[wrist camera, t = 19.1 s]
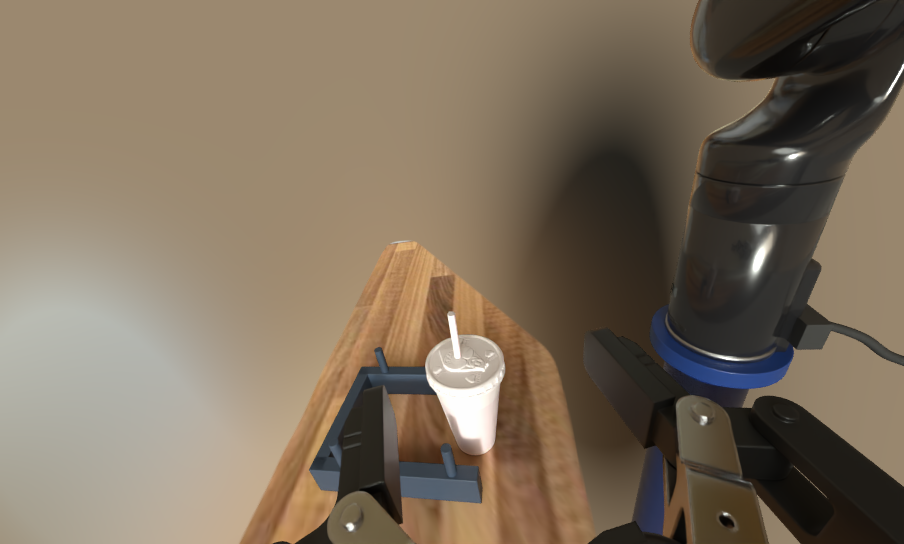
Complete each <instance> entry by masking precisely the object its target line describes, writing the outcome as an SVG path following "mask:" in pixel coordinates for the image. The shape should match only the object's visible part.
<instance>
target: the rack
mask: <svg viewBox="0 0 904 544" xmlns="http://www.w3.org/2000/svg"><path fill="white" fill-rule="evenodd" d="M375 354H376V357H377V360H378V363H379V366H380V367H361V369H360V371H359V373H358V375H357V377H356V379H355V381H354V383H353V385H352V387H351V389H350V391H349V393H348V395H347V397H346V399H345V401H344V403H343V404H342V406H341V408H340V410H339V412H338V414H337V416H336V418H335V420H334V422H333V424H332V426H331V428H330V430H329V432H328V434H327V436H326V438H325V440H324V442H323V444H322V446H321V448H320V450H319V452H318V453H317V455H316V457H315V459H314V461H313V463H312V465H311V467H310V469H309V471H310V472H311V474H312V476H313V477H314V479H315V481H316V482H317V484H318V486H319V487H320V489H321V490H328V491H338V486H339V476H340V466H341V455H342V451H343V449H342V445H343V439H344V437H343V434H344V424H345V421H346V419H347V417H348V415H349V413H350V411H351V409H352V408H356V407H359V406H362V404H363V391H364V390H366V389H370V388H373V387H377V386H381V385H384V386H385V388H386V391H387V394H431V395H437V393H436V392H435V391H434V390H433V389H432V387H431V386H430V385H429V383H428V380H427V375H426V369H425V367H388V366H387V363H386V359H385V356H384V353H383V350H382V348H381V347H378V348H376V349H375ZM441 454H442V457H443V461H444V464H434V463H418V462H402V461H399V470H400V486H401V497H412V498H424V499H436V500H448V501H460V502H472V503H481V501H482V483H481V478H480V472H479V467H478V466H467V465H456V464H455V460H454V456H453V452H452V448H451V445H450V444H448V443H445V444H443V445H442V446H441Z"/></svg>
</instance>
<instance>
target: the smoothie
mask: <svg viewBox="0 0 904 544" xmlns="http://www.w3.org/2000/svg"><path fill="white" fill-rule="evenodd" d="M447 315H448V321H449V327H450V333H451V337H450V338H448V339H446V340H444V341H442V342H440V343H439V344H437V345H436V346H435V347H434V348H433V349H432V350H431V351H430V353H429V354H428V356H427V359H426V363H425V369H426V375H427V380H428V383H429V385H430V386H431V387H432V389H433V390H434V391H435V392H436V393H437V396H438V398H439V400H440V403H441V405H442V408H443V410H444V413H445V415H446V418H447V420H448V423H449V425H450V427H451V430H452V432H453V435H454V437H455V440H456V442H457V445H458V447H459V448H460V449H461V450H462V451H463V452H465V453H467V454H469V455H481V454H484V453H486V452H487V451H489V450H490V449H491V448H492V446H493V445H494V442H495V436H496V425H497V413H498V402H499V390H500V382H501V381H502V379H503V376H504V374H505V363H504V357H503V353H502V351H501V349H500V348H499V346H498V345H497V344H496V343H495V342H493V341H492V340H490V339H488V338H486V337H483V336H479V335H471V334H466V335H458V331H457V324H456V318H455V313H454V312H449V313H448V314H447Z"/></svg>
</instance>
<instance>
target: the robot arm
mask: <svg viewBox="0 0 904 544" xmlns="http://www.w3.org/2000/svg"><path fill="white" fill-rule="evenodd" d="M690 46H691V51H692V54H693V57H694V59H695V61H696V62H697V64H698V65H699V67H700V68H701V69H702V70H703V71H705V72H706V73H707V74H708V75H710V76H713V77H715V78H717V79H721V80H728V81H734V82H745V81H758V80H764V79H770V78H775V80H774V83H773V85H772V87H771V89H770V91H769V93H768V94H767V96H766V97H765V98H764V99H763V100H762V101H761V102H760V103H759V104H758V105H757V106H755V107H754V108H753V109H752V110H750V111H749V112H748V113H746V114H745V115H743V116H742V117H740V118H739V119H737V120H736V121H733V122H731V123H730V124H728V125H726V126H724V127H722V128H720V129H718V130H716V131H714V132H712V133H711V134H710V135H708V136H707V137H706V138H705V139H704V141H703V142H702V144H701V147H700V150H699V154H698V160H697V165H696V171H695V176H694V181H693V186H692V191H691V197H690V202H689V207H688V212H687V217H686V222H685V227H684V232H683V238H682V243H681V248H680V253H679V258H678V263H677V269H676V274H675V278H674V283H673V289H672V288H671V289H672V293H671V299H670V303H669V306H668V312H667V314H666V319H665V327H666V330H667V332H668V334H669V335H670V336H671V337H672V338H673V339H674V340H675V341H676V342H677V343H678V344H680V345H681V346H683V347H684V348H686V349H688V350H690V351H691V352H694V353H696V354H698V355H701V356H703V357H706V358H709V359H713V360H717V361H721V362H727V363H736V364H748V363H756V362H760V361H763V360H766V359H768V358H769V357H771V356H772V355H773V354H774V352H786V350H787V348H788V346H789V343H790V344H791V345H792V346H793V347H794V348H796V349H798V350H802V349H822V348H823V345H824V344H825V341H826V340H827V338H828V336H829V333H830V331H834V332H837V333H840V334H844V335H846V336H849V337H851V338H854V339H856V340H858V341H860V342H862V343H864V344H865V345H866V346H867V347H869V348H870V349H871V350H872V351H874V352H875V353H876V354H877V355H879V356H881V357H882V358H884V359H886V360H889V361H891V362H894V363H897V364H900V365H902V366H904V356H902V355H899V354H896V353H894V352H892V351H890V350H888V349H887V348H885V347H884V346H883V345H882V344H880V343H879V342H878V341H877V340H875V339H874V338H872V337H871V336H869V335H867V334H865V333H863V332H861V331H858V330H856V329H853V328H850V327H847V326H844V325H840V324H836V323H833V322H830V321H828V320H827V319H826V318H825V317H823V316H822V315H821V314H819V313H818V312H817V311H816V310H814V309H813V308H811V307H810V306H809V305H808V304H807V302H808V299H809V297H810V295H811V292H812V290H813V288H814V285H815V283H816V281H817V278H818V276H819V274H820V272H821V265H820V264H819V263H818V262H817V261H815V260H814V259H812V256H813V254H814V251H815V249H816V246H817V243H818V241H819V239H820V236H821V234H822V231H823V229H824V227H825V224H826V222H827V219H828V216H829V214H830V211H831V209H832V206H833V204H834V201H835V198H836V196H837V194H838V192H839V189H840V187H841V184H842V182H843V179H844V177H845V173H846V172H847V170H848V168H849V165H850V163H851V161H852V158H853V157H854V155H855V153H856V152H857V151H858V149H860V147H861V146H862V145H863V144H864V143H865V142H867V140H868V139H870V138H871V136H873V134H874V133H875V132H876V131H877V130H878V129H879V127H880V126H881V125H882V123H883V122H884V121H885V119H886V117H887V116H888V114H889V112H890V111H891V108H892V107H893V105H894V103H895V101H896V99H897V97H898V95H899V93H900V90H901V89H902V87H903V85H904V0H699V1H698V4H697V7H696V9H695V12H694V15H693V19H692V24H691V31H690ZM583 359H584V365H585V369H586V371H587V373H588V375H589V376H590V377H591V379H592V380H593V381H594V383H595V384H596V385H597V387H598V388H599V389H600V390H601V392H602V393H603V394H604V396H605V397H606V399H607V400H608V401H609V402H610V404H611V405H612V406H613V408H614V409H615V410H616V412H617V413H618V414H619V416H620V417H621V418H622V420H623V421H624V422H625V424H626V425H627V426H628V428H629V429H630V430H631V432H632V433H633V434H634V436H635V437H636V438H637V439H638V441H639V442H640V443H641V445H642V446H643V447H644V449H645V448H649V447H652V446H655V445H656V446H657V447H658V448H659V450H660V451H661V452H662V453H663V481H664V506H665V514H664V524H663V536H662V535H659V534H655V533H649V532H642V531H641V530H640V528H639V526H638V525H637V523H636V521H634V522H631V523H628V524H625V525H622V526H619V527H615V528H613V529H610V530H606V531H603V532H602V533H601V534H599V535H598V536H597V537H596V538H594V539H593V540H592V541H590V542H589V543H588V544H769V542H768V538H767V534H766V530H765V526H764V522H763V518H762V514H761V510H760V506H759V502H758V498H757V495H758V496H759V497H760V498H761V499H762V500H763V501H764V503H765V504H766V505H767V506H768V507H769V508H770V509H771V511H772V512H773V513H774V514H775V515H776V516H777V517H778V518H779V520H780V521H781V522H782V523H783V524H784V525H785V526H786V528H787V529H788V530H789V531H790V532H791V533H792V534H793V535H794V537H795V538H796V539H797V540H798V541H799V542H800V543H801V544H904V487H903V486H902V485H901V484H899V483H898V482H897V481H896V480H894V479H893V478H892V477H891V476H889V475H888V474H887V473H885V472H884V471H883V470H881V469H880V468H879V467H878V466H877V465H875V464H874V463H873V462H872V461H870V460H869V459H867V458H866V457H865V456H864V455H863V454H861V453H860V452H859V451H857V450H856V449H855V448H854V447H852V446H851V445H850V444H849V443H847V442H846V441H845V440H844V439H842V438H841V437H840V436H838V435H837V434H836V433H835V432H833V431H832V430H831V429H830V428H828V427H827V426H826V425H825V424H823V423H822V422H821V421H819V420H818V419H817V418H816V417H814V416H813V415H812V414H811V413H809V412H808V411H807V410H805V409H804V408H803V407H801V406H800V405H798V404H796V403H794V402H792V401H790V400H787V399H784V398H781V397H776V396H762V397H759V398H758V399H756V400H755V402H754V405H753V407H752V408H729V407H721V406H719V405H718V404H717V403H715V402H713V401H711V400H709V399H707V398H704V397H701V396H694V395H690V394H689V393H688V392H686V391H685V390H684V389H683V388H682V387H681V386H680V385H679V384H678V383H677V382H676V381H675V380H674V379H673V378H672V377H671V376H670V375H669V374H668V373H667V372H666V371H665V370H664V369H663V368H661V367H660V366H659V365H658V364H657V363H655V361H654V360H653V359H652V358H651V357H650V356H649V355H647V354H646V352H645V351H644V350H643V349H642V348H641V347H639V345H637V344H636V343H635V342H633V341H631V340H629V339H627V338H625V337H623V336H622V337H616V336H615V335H614V334H613V332H611V330H609V329H608V328H607V327H601V328H598V329H594V330H590V331H587V332H586V333H585V340H584V358H583ZM343 437H344V439H343V445H342V449H343V451H342V455H341V466H340V476H339V486H338V496H337V500H336V504H335V506H334V508H333V510H332V512H331V513H330V515H329V517H328V518H327V519H326V520H325V522H324V523H323V524H322V525H321V526H319V527H318V528H317V529H316V530H314V531H313V532H311V533H310V534H308V535H307V536H305V537H304V538H302V539H301V540H299V541H298V542H296V543H295V544H416V543H415V542H414V541H413V540H412V539H411V538H410V537H409V536H408V535H407V534H406V533H405V532H404V531H403V530H402V528H401V527H400V526H399V524H402V523H403V518H402V502H401V486H400V470H399V454H398V438H397V425H396V419H395V414H394V411H393V408H392V405H391V402H390V399H389V397H388V394H387V391H386V388H385V386H384V385H381V386H377V387H373V388H370V389H366V390H364V391H363V404H362V406H359V407H356V408H352V409H351V411H350V413H349V415H348V417H347V419H346V421H345V424H344V434H343ZM794 466H795V467H796V468H797V469H798V470H799V471H800V472H801V473H803V475H804V476H806V477H807V478H808V479H809V480H810V481H811V482H812V483H813V484H814V485H815V486H816V487H817V488H818V489H819V490H820V491H821V492H822V493H823V494H824V495H825V496H826V497H827V498H828V499H829V500H828V499H827V498H826V497H825V496H824V495H823V494H822V493H821V492H820V491H819V490H818V489H817V488H816V487H815V486H814V485H813V484H812V483H810V481H808V480H807V479H806V478H805V477H804V476H803V475H802V474H801V473H800V472H799V471H798V470H797V469H796V468H795V467H794ZM273 544H290V543H288V542H284V541H281V542H276V543H273Z"/></svg>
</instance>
